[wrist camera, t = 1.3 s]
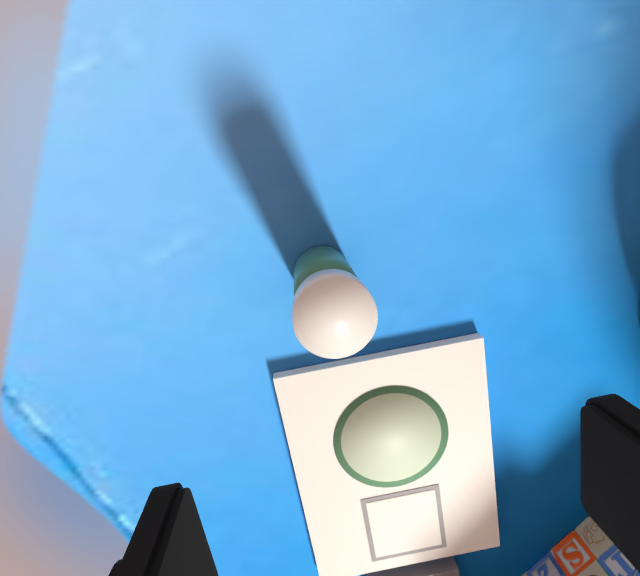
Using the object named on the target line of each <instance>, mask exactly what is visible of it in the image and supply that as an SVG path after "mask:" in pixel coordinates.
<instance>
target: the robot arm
mask: <svg viewBox="0 0 640 576" xmlns="http://www.w3.org/2000/svg"><path fill="white" fill-rule="evenodd" d="M581 501H582V504H583V507H584V509H585V511H586V512H587V514H588V515H589V516H590V517H591V518H592V520H593V521H594V522H595V523H596V524H597V525H598V526H599V528H600V529H601V530H602V531H603V532H604V533H605V534H606V536H607V537H608V538H609V539H610V540H611V541H612V542H613V543H614V545H615V546H616V547H617V548H618V549H619V550H620V551H621V553H622V554H623V555H624V556H625V557H626V558H627V559H628V561H629V562H630V563H631V564H632V565H633V566H634V567H635V569H636V570H637V571H638V572H639V573H640V409H638V408H637V407H635V406H634V405H632V404H631V403H629V402H628V401H626V400H625V399H623V398H622V397H620V396H618V395H616V394H609V395H604V396H599V397H594V398H590V399H588V400H587V402H586V405H585V406H584V407H582V408H581ZM109 576H218V573H217V570H216V567H215V564H214V560H213V557H212V554H211V551H210V548H209V545H208V542H207V539H206V536H205V533H204V530H203V527H202V523H201V520H200V517H199V514H198V511H197V508H196V505H195V502H194V499H193V496H192V493H191V490H190V489H189V488H183V487H182V485H181V484H180V483H174V484H169V485H164V486H159V487H155V488H153V489H152V491H151V493H150V495H149V497H148V500H147V502H146V505H145V507H144V509H143V512H142V514H141V516H140V519H139V521H138V524H137V526H136V528H135V531H134V533H133V535H132V538H131V540H130V543H129V545H128V547H127V550H126V552H125V554H124V557H123V559H121V560H119V561H118V562H116V563H115V564H114V566H113V568H112V570H111V572H110V574H109Z"/></svg>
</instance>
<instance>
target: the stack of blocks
mask: <svg viewBox="0 0 640 576" xmlns="http://www.w3.org/2000/svg"><path fill="white" fill-rule="evenodd" d="M522 576H640V573H639V572H638V571H637V570H636V569H635V567H634V566H633V565H632V564H631V563H630V562H629V561H628V559H627V558H626V557H625V556H624V555H623V554H622V553H621V551H620V550H619V549H618V548H617V547H616V546H615V545H614V543H613V542H612V541H611V540H610V539H609V538H608V537H607V536H606V534H605V533H604V532H603V531H602V530H601V529H600V528H599V526H598V525H597V524H596V523H595V522H594V521H593V520H592V518H591V517H590V516H589V517H588V518H586V519H585V520H584V521H583V522H582V523H581V524H579V525H578V526H577V527H576V528H575V530H574V531H572V532H570V533H569V534H568V535H567V536H566V537H564V538H563V539H562V540H561V541H560V542H559V543H557V544H556V545H555V546H554V547H553V548H552V549H551V550H550V552H548V553H547V554H546V555H544V556H543V557H542V558H541V559H540V560H539V561H538V562H537V563H535V564H534V565H533V566H532V567H531V568H530V569H528V570H527V572H526V573H524V574H523V575H522Z"/></svg>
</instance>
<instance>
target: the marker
mask: <svg viewBox="0 0 640 576" xmlns="http://www.w3.org/2000/svg"><path fill="white" fill-rule="evenodd" d="M377 322H378V313H377V307H376V304H375V302H374V300H373V298H372V296H371V295H370V293H369V291H368V290H367V288H366V287H365V285H364V284H363V283H362V282H361V281H360V280H359V278H357V276H356V275H355V273H354V272H353V270H352V268H351V267H350V265H349V264H348V262H347V261H346V259H345V258H344V256H343V255H342V254H341V253H340V252H339V251H338V250H336V249H334V248H332V247H329V246H315V247H312V248H309V249H307V250H306V251H304V252H303V253H302V254H301V255H300V256H299V258H298V259H297V261H296V263H295V267H294V299H293V328H294V331H295V334H296V336H297V338H298V340H299V342H300V343H301V344H302V345H303V346H304V347H305V348H306V349H307V350H308V351H310V352H311V353H313V354H315V355H317V356H320V357H323V358H329V359H339V358H344V357H348V356H351V355H353V354H355V353H357V352H358V351H360V350H361V349H363V348H364V347H365V346H366V345H367V344H368V342H369V341H370V340H371V338H372V337H373V335H374V333H375V330H376V327H377Z"/></svg>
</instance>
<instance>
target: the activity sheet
mask: <svg viewBox="0 0 640 576" xmlns="http://www.w3.org/2000/svg"><path fill="white" fill-rule="evenodd" d="M273 381H274V386H275V390H276V394H277V398H278V403H279V407H280V411H281V415H282V419H283V424H284V428H285V432H286V436H287V441H288V445H289V449H290V453H291V458H292V462H293V466H294V470H295V474H296V479H297V483H298V487H299V491H300V496H301V500H302V504H303V508H304V513H305V517H306V521H307V525H308V530H309V534H310V538H311V542H312V546H313V551H314V555H315V559H316V563H317V568H318V572H319V576H356V575H361V574H366V573H371V572H376V571H381V570H386V569H391V568H396V567H400V566H405V565H410V564H415V563H420V562H425V561H430V560H435V559H439V558H444V557H449V556H454V555H459V554H464V553H469V552H474V551H478V550H483V549H488V548H493V547H498V546H500V538H499V525H498V513H497V500H496V488H495V475H494V463H493V450H492V438H491V425H490V413H489V400H488V387H487V375H486V362H485V350H484V338H483V337H482V336H481V335H480V334H479V333H474V334H469V335H464V336H459V337H454V338H449V339H444V340H439V341H434V342H429V343H424V344H418V345H413V346H408V347H403V348H398V349H393V350H388V351H383V352H378V353H373V354H368V355H363V356H357V357H352V358H347V359H342V360H337V361H332V362H327V363H322V364H317V365H312V366H307V367H301V368H296V369H291V370H286V371H281V372H276V373H273Z"/></svg>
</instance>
